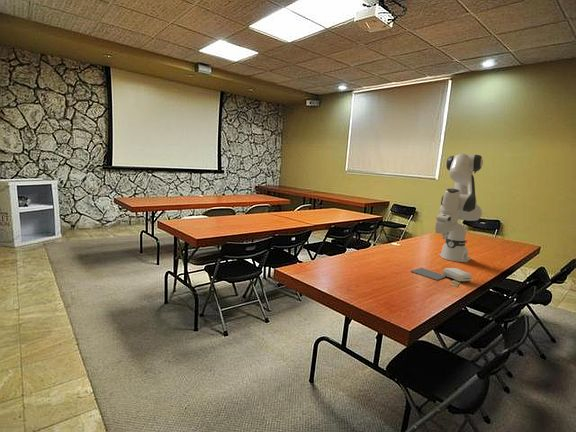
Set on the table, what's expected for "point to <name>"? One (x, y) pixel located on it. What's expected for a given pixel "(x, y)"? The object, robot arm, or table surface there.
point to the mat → (429, 274)
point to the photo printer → (457, 274)
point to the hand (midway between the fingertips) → (445, 238)
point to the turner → (455, 283)
